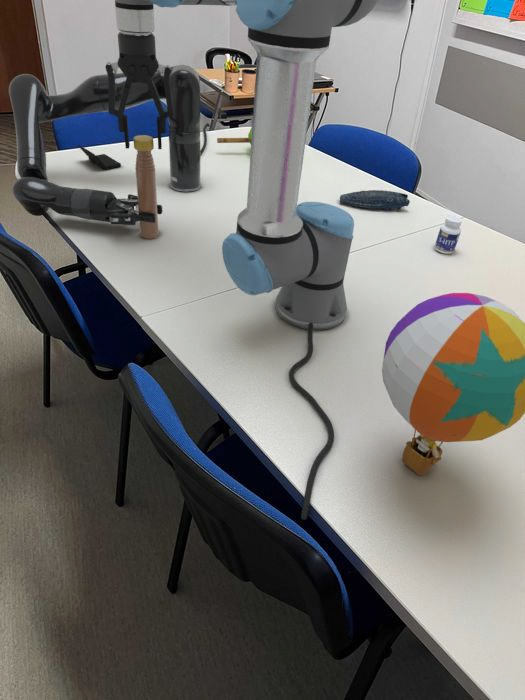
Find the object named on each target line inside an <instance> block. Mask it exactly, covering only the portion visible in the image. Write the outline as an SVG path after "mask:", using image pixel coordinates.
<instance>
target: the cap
mask: <svg viewBox="0 0 525 700" xmlns="http://www.w3.org/2000/svg"><path fill="white" fill-rule="evenodd" d="M133 148H134V149H135V150H136V151H137V150H138V151H150V150H151V151H153V150H154V148H155V146H154V137H153V136H150V135H145V134H139V135H135V136H134V137H133Z"/></svg>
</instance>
